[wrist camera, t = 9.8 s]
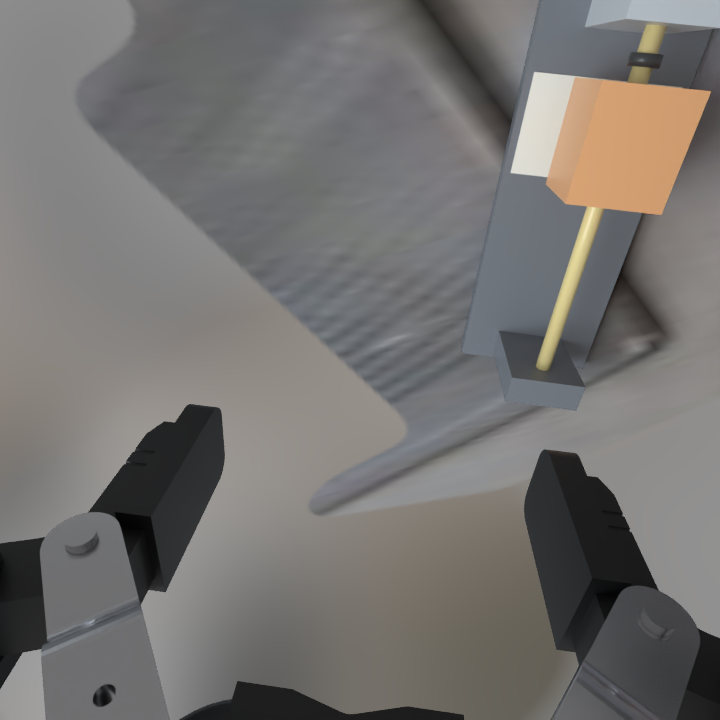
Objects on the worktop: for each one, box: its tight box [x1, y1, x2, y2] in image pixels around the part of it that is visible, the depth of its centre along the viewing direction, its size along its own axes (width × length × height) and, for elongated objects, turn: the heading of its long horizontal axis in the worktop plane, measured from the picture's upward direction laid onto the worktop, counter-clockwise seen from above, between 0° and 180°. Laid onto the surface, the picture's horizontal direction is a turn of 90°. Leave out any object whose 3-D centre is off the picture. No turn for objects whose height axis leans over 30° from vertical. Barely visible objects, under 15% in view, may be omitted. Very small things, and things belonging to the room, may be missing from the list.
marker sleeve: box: [546, 77, 711, 215], centre depth 28 cm, size 6×5×5 cm
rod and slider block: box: [461, 0, 720, 411], centre depth 32 cm, size 26×10×8 cm, turn 175°
